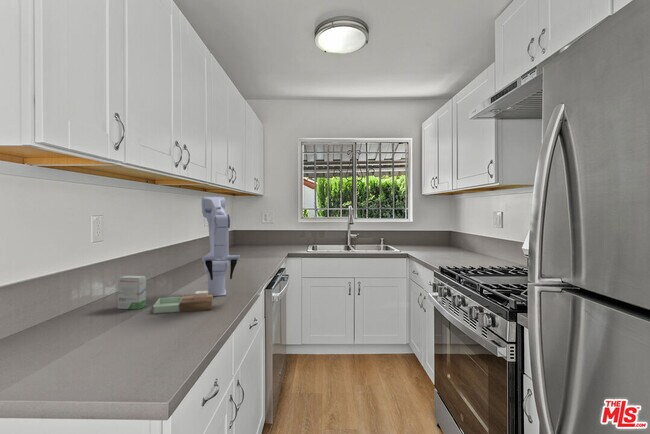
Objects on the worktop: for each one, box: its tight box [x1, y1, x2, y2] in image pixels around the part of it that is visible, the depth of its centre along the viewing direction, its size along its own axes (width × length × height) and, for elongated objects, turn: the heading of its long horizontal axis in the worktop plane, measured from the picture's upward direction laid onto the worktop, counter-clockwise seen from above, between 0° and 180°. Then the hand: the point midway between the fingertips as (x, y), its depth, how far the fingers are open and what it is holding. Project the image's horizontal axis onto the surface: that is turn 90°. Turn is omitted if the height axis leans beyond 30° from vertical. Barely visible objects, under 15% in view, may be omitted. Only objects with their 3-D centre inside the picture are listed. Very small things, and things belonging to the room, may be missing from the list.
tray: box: [152, 296, 183, 314], centre depth 138 cm, size 13×9×2 cm
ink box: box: [117, 275, 147, 310], centre depth 138 cm, size 9×5×12 cm, turn 84°
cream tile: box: [194, 290, 208, 297], centre depth 143 cm, size 4×4×2 cm
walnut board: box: [179, 294, 214, 313], centre depth 140 cm, size 13×11×3 cm
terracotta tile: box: [193, 294, 207, 302], centre depth 138 cm, size 4×4×2 cm
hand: (221, 279), depth 145 cm, fingers open, 7 cm apart
